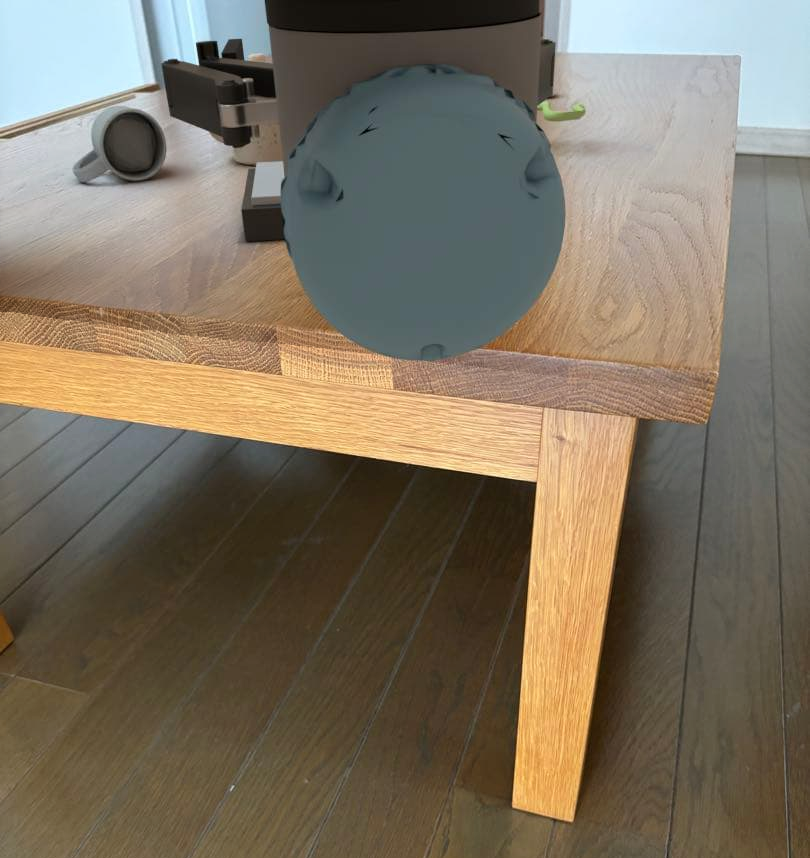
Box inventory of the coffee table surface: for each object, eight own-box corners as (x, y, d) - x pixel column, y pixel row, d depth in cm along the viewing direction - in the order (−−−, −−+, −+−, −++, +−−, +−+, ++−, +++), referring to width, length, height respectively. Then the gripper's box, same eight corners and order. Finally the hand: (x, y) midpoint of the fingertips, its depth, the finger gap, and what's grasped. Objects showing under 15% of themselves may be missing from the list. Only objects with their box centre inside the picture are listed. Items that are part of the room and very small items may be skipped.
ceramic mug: (153, 162, 111) (140, 95, 107) (173, 175, 105) (159, 105, 101) (68, 176, 107) (51, 107, 103) (84, 191, 101) (66, 118, 97)
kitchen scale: (245, 243, 83) (239, 202, 81) (251, 197, 97) (247, 160, 95) (413, 233, 84) (412, 192, 82) (396, 189, 98) (395, 152, 96)
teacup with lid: (286, 146, 117) (276, 46, 110) (315, 159, 110) (307, 54, 104) (199, 159, 112) (183, 56, 105) (225, 174, 106) (209, 64, 99)
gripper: (86, 245, 36) (153, 139, 54) (676, 207, 38) (557, 116, 55) (36, 36, 32) (126, -6, 49) (705, 4, 34) (565, -26, 51)
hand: (354, 59), depth 52 cm, fingers open, 13 cm apart
